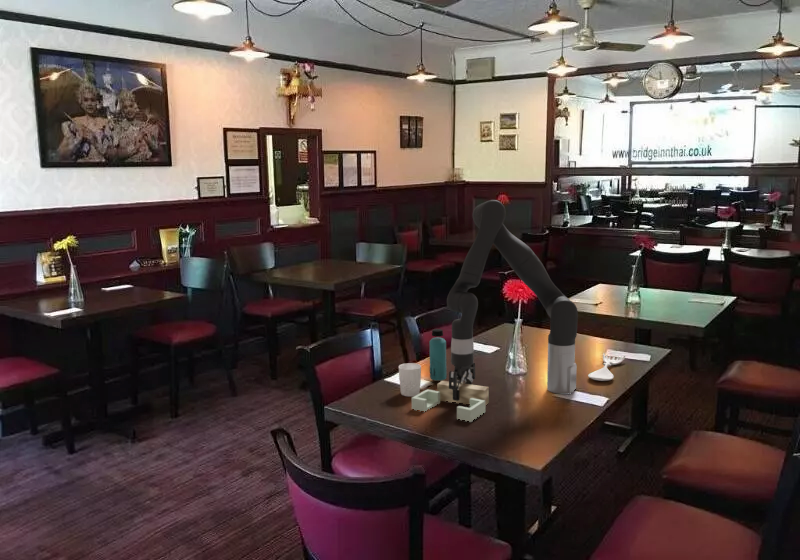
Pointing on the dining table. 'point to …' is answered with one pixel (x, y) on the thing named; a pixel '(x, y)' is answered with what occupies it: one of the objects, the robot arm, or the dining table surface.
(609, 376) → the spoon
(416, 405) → the end cap
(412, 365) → the white cup
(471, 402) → the end cap
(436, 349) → the beverage bottle
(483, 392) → the wooden block
